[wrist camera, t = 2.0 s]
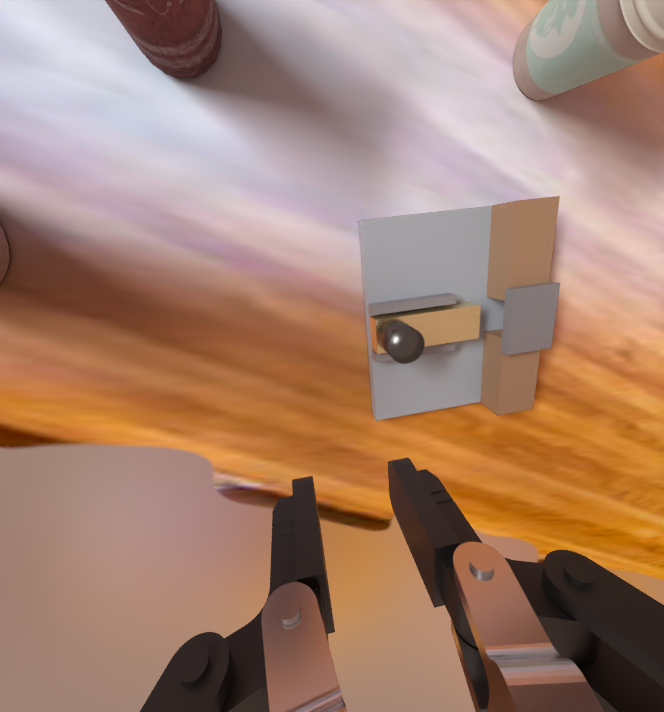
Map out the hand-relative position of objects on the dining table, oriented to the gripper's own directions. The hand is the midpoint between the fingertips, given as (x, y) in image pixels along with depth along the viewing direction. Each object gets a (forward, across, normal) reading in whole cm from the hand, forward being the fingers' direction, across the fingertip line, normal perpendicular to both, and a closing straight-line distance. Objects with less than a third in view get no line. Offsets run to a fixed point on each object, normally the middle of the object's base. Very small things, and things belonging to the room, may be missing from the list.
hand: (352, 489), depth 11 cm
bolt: (+19, -11, 0) cm, 22 cm away
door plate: (+21, -14, 0) cm, 25 cm away
